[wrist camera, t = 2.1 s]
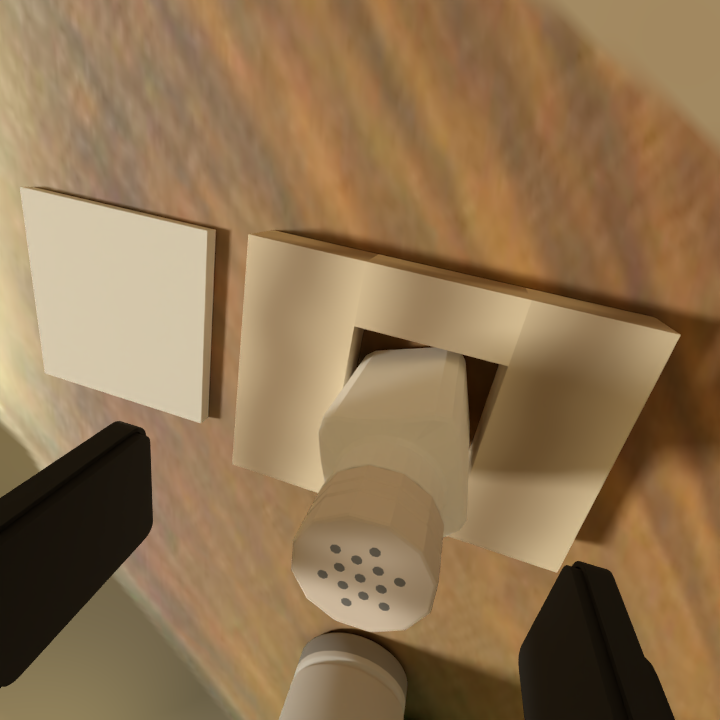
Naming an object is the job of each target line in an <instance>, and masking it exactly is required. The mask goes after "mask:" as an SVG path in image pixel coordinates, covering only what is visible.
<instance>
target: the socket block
mask: <svg viewBox="0 0 720 720" xmlns="http://www.w3.org/2000/svg"><path fill="white" fill-rule="evenodd" d="M364 329H367V330H371V331H375V332H378V333H382V334H386V335H390V336H394V337H398V338H401V339H405V340H409V341H413V342H417V343H421V344H424V345H428V346H432V347H436V348H440V349H444V350H447V351H451V352H455V353H459V354H463V355H467V356H470V357H474V358H478V359H482V360H486V361H490V362H493V363H497V364H499V366H498V368H497V371H496V374H495V377H494V380H493V383H492V386H491V389H490V392H489V395H488V397H487V400H486V403H485V406H484V409H483V412H482V415H481V418H480V421H479V424H478V426H477V429H476V432H475V435H474V438H473V441H472V444H471V447H470V450H469V472H468V502H467V520H466V521H465V523H464V525H463V526H462V528H461V529H460V530H458V531H456V532H454V533H452V534H450V535H448V536H449V537H452V538H455V539H458V540H461V541H464V542H467V543H470V544H473V545H476V546H479V547H482V548H485V549H488V550H491V551H494V552H497V553H500V554H503V555H506V556H509V557H512V558H515V559H518V560H521V561H523V562H526V563H529V564H532V565H535V566H538V567H541V568H544V569H547V570H550V571H553V572H556V573H557V572H558V570H559V568H560V566H561V564H562V562H563V560H564V559H565V557H566V555H567V553H568V551H569V549H570V547H571V545H572V543H573V541H574V539H575V537H576V535H577V534H578V532H579V530H580V528H581V526H582V524H583V522H584V520H585V518H586V516H587V514H588V512H589V510H590V509H591V507H592V505H593V503H594V501H595V499H596V497H597V495H598V493H599V491H600V489H601V487H602V485H603V484H604V482H605V480H606V478H607V476H608V474H609V472H610V470H611V468H612V466H613V464H614V462H615V460H616V459H617V457H618V455H619V453H620V451H621V449H622V447H623V445H624V443H625V441H626V439H627V437H628V435H629V434H630V432H631V430H632V428H633V426H634V424H635V422H636V420H637V418H638V416H639V414H640V412H641V410H642V409H643V407H644V405H645V403H646V401H647V399H648V397H649V395H650V393H651V391H652V389H653V387H654V385H655V384H656V382H657V380H658V378H659V376H660V374H661V372H662V370H663V368H664V366H665V364H666V362H667V360H668V359H669V357H670V355H671V353H672V351H673V349H674V347H675V345H676V343H677V341H678V339H679V337H680V334H679V333H677V332H676V331H674V330H673V329H671V328H670V327H668V326H667V325H665V324H664V323H663V322H661V321H660V320H658V319H657V318H655V317H651V316H647V315H642V314H638V313H634V312H629V311H625V310H621V309H616V308H612V307H607V306H603V305H599V304H594V303H590V302H586V301H581V300H577V299H572V298H568V297H564V296H559V295H555V294H551V293H546V292H542V291H538V290H533V289H529V288H524V287H520V286H516V285H511V284H507V283H503V282H498V281H494V280H489V279H485V278H481V277H476V276H472V275H468V274H463V273H459V272H454V271H450V270H446V269H441V268H437V267H433V266H428V265H424V264H419V263H415V262H411V261H406V260H402V259H398V258H393V257H389V256H384V255H380V254H376V253H371V252H367V251H363V250H358V249H354V248H350V247H345V246H341V245H336V244H332V243H328V242H323V241H319V240H315V239H310V238H306V237H301V236H297V235H293V234H288V233H284V232H280V231H275V230H271V231H265V232H259V233H253V234H249V235H248V249H247V263H246V277H245V291H244V305H243V319H242V333H241V347H240V361H239V375H238V389H237V403H236V417H235V431H234V445H233V459H232V464H233V465H236V466H239V467H242V468H245V469H248V470H251V471H254V472H257V473H260V474H263V475H266V476H269V477H272V478H275V479H278V480H281V481H284V482H287V483H290V484H293V485H296V486H299V487H302V488H305V489H308V490H311V491H314V492H317V493H319V491H320V489H321V487H322V486H323V484H324V483H325V481H324V475H323V470H322V464H321V457H320V447H319V437H318V432H319V429H320V425H321V422H322V419H323V416H324V415H325V413H326V412H327V410H328V409H329V407H330V406H331V405H332V403H333V402H334V400H335V399H336V398H337V396H338V395H339V393H340V392H341V390H342V389H343V388H344V386H345V385H346V383H347V382H348V380H349V379H350V378H351V376H352V375H353V373H354V372H355V370H356V369H357V364H358V359H359V353H360V348H361V343H362V338H363V333H364Z"/></svg>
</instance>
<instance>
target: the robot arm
mask: <svg viewBox="0 0 720 720" xmlns="http://www.w3.org/2000/svg"><path fill="white" fill-rule="evenodd" d="M152 524H153V511H152V481H151V452H150V439H149V437H147V436H146V433H145V431H144V429H143V428H141V427H137V426H134V425H131V424H128V423H124V422H121V421H117V422H114V423H112V424H110V425H109V426H107V427H106V428H104V429H103V430H101V431H100V432H98V433H97V434H95V435H94V436H93V437H91V438H90V439H88V440H87V441H85V442H84V443H82V444H81V445H79V446H78V447H76V448H75V449H73V450H72V451H70V452H69V453H67V454H66V455H64V456H63V457H61V458H60V459H58V460H57V461H55V462H54V463H52V464H51V465H49V466H48V467H46V468H45V469H43V470H42V471H40V472H39V473H37V474H36V475H34V476H33V477H31V478H30V479H28V480H27V481H25V482H24V483H22V484H21V485H19V486H18V487H16V488H15V489H13V490H12V491H10V492H9V493H7V494H6V495H4V496H3V497H1V498H0V688H1V687H2V686H3V687H5V686H8V685H10V684H11V683H13V682H14V681H15V680H16V679H17V678H18V677H19V676H20V675H21V674H22V673H23V672H24V671H25V670H26V669H27V668H28V667H29V665H30V664H31V663H32V662H33V661H34V660H35V659H36V658H37V657H38V656H39V655H40V653H41V652H42V651H43V650H44V649H45V648H46V647H47V646H48V645H49V644H50V643H51V641H52V640H53V639H54V638H55V637H56V636H57V635H58V633H60V631H61V630H62V629H63V628H64V627H65V626H66V625H67V624H68V623H69V622H70V620H71V619H72V618H73V617H74V616H75V615H76V614H77V613H78V612H79V610H80V609H81V608H82V607H83V606H84V605H85V604H86V603H87V602H88V601H89V600H90V599H91V597H92V596H93V595H94V594H95V593H96V592H97V591H98V590H99V589H100V588H101V587H102V585H103V584H104V583H105V582H106V581H107V580H108V579H109V578H110V577H111V576H112V574H113V573H114V572H115V571H116V570H117V569H118V568H119V567H120V566H121V565H122V563H123V562H124V561H125V560H126V559H127V558H128V557H129V556H130V555H131V554H132V552H133V551H134V550H135V549H136V548H137V547H138V546H139V545H140V544H141V543H142V542H143V540H144V539H145V538H146V537H147V536H148V534H149V532H150V530H151V528H152ZM519 674H520V683H521V691H522V700H523V709H524V718H525V720H675V719H674V716H673V713H672V711H671V708H670V706H669V703H668V701H667V698H666V696H665V693H664V691H663V688H662V686H661V683H660V681H659V678H658V676H657V674H656V672H655V670H654V668H653V666H652V664H651V663H650V662H649V661H648V660H647V659H646V658H645V657H644V654H643V652H642V649H641V647H640V644H639V641H638V639H637V636H636V634H635V631H634V628H633V626H632V623H631V621H630V618H629V615H628V613H627V610H626V608H625V605H624V602H623V600H622V597H621V595H620V592H619V589H618V587H617V584H616V582H615V579H614V577H613V575H612V573H611V572H610V571H609V570H607V569H604V568H600V567H597V566H594V565H591V564H587V563H584V562H581V561H577V562H575V563H574V564H573V565H572V567H571V566H568V565H566V566H564V567H563V569H562V571H561V572H560V574H559V576H558V578H557V580H556V582H555V584H554V586H553V587H552V589H551V591H550V593H549V595H548V597H547V599H546V601H545V602H544V604H543V606H542V608H541V610H540V612H539V614H538V616H537V617H536V619H535V621H534V623H533V625H532V627H531V629H530V631H529V632H528V634H527V636H526V638H525V640H524V642H523V644H522V646H521V648H520V652H519Z"/></svg>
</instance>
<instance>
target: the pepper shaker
mask: <svg viewBox="0 0 720 720" xmlns="http://www.w3.org/2000/svg"><path fill="white" fill-rule="evenodd" d="M318 437H319V447H320V457H321V464H322V470H323V475H324V481H325V483H324V484H323V486H322V487H321V489H320V491H319V493H318V494H317V496H316V498H315V500H314V502H313V505H312V506H311V508H310V509H309V511H308V513H307V516H306V517H305V519H304V521H303V522H302V524H301V526H300V528H299V530H298V532H297V534H296V535H295V537H294V539H293V551H292V566H291V570H292V572H293V574H294V575H295V577H296V579H297V581H298V583H299V585H300V586H301V588H302V590H303V592H304V594H305V596H306V597H307V599H309V600H310V601H311V602H312V603H314V604H315V605H316V606H317V607H319V608H320V609H321V610H323V611H324V612H325V613H326V614H328V615H329V616H330V617H331V618H333V619H334V620H335V621H338V622H341V623H344V624H347V625H350V626H353V627H356V628H359V629H362V630H365V631H368V632H383V631H399V630H406V629H407V628H409V627H410V626H412V625H413V624H415V623H416V622H418V621H419V620H421V619H422V618H424V617H425V616H427V615H428V614H429V613H430V612H431V610H432V606H433V602H434V598H435V594H436V591H437V587H438V582H439V572H440V562H441V553H442V543H443V542H442V540H443V537H446V536H448V535H450V534H452V533H454V532H456V531H458V530H460V529H461V528H462V526H463V525H464V523H465V521H466V520H467V502H468V472H469V442H470V420H469V404H468V389H467V374H466V361H465V359H464V357H463V355H462V354H459V353H455V352H451V351H447V350H444V349H440V348H436V347H434V348H415V349H397V350H380V351H374V352H372V353H370V354H368V355H366V356H365V358H364V359H363V361H362V362H361V363H360V365H359V366H358V368H357V369H356V370H355V372H354V373H353V375H352V376H351V378H350V379H349V380H348V382H347V383H346V385H345V386H344V388H343V389H342V390H341V392H340V393H339V395H338V396H337V398H336V399H335V400H334V402H333V403H332V405H331V406H330V407H329V409H328V410H327V412H326V413H325V415H324V416H323V419H322V422H321V425H320V429H319V432H318Z"/></svg>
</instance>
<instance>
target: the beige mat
mask: <svg viewBox="0 0 720 720" xmlns="http://www.w3.org/2000/svg"><path fill="white" fill-rule="evenodd" d="M20 192H21V199H22V207H23V214H24V222H25V229H26V236H27V244H28V251H29V259H30V266H31V274H32V281H33V288H34V296H35V303H36V311H37V318H38V326H39V333H40V340H41V348H42V355H43V363H44V370H45V373H46V374H49V375H52V376H55V377H58V378H61V379H64V380H67V381H71V382H74V383H77V384H80V385H83V386H86V387H89V388H92V389H95V390H99V391H102V392H105V393H108V394H111V395H114V396H117V397H120V398H124V399H127V400H130V401H133V402H136V403H139V404H142V405H145V406H149V407H152V408H155V409H158V410H161V411H164V412H167V413H170V414H173V415H177V416H180V417H183V418H186V419H189V420H192V421H195V422H198V423H202V422H203V421H204V420H206V419H207V418H208V410H209V386H210V361H211V337H212V312H213V288H214V263H215V239H216V230H215V229H210V228H206V227H202V226H198V225H193V224H189V223H185V222H180V221H176V220H172V219H168V218H163V217H159V216H155V215H151V214H146V213H142V212H138V211H133V210H129V209H125V208H121V207H116V206H112V205H108V204H104V203H99V202H95V201H91V200H87V199H82V198H78V197H74V196H69V195H65V194H61V193H57V192H52V191H48V190H44V189H40V188H35V187H20Z"/></svg>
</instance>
